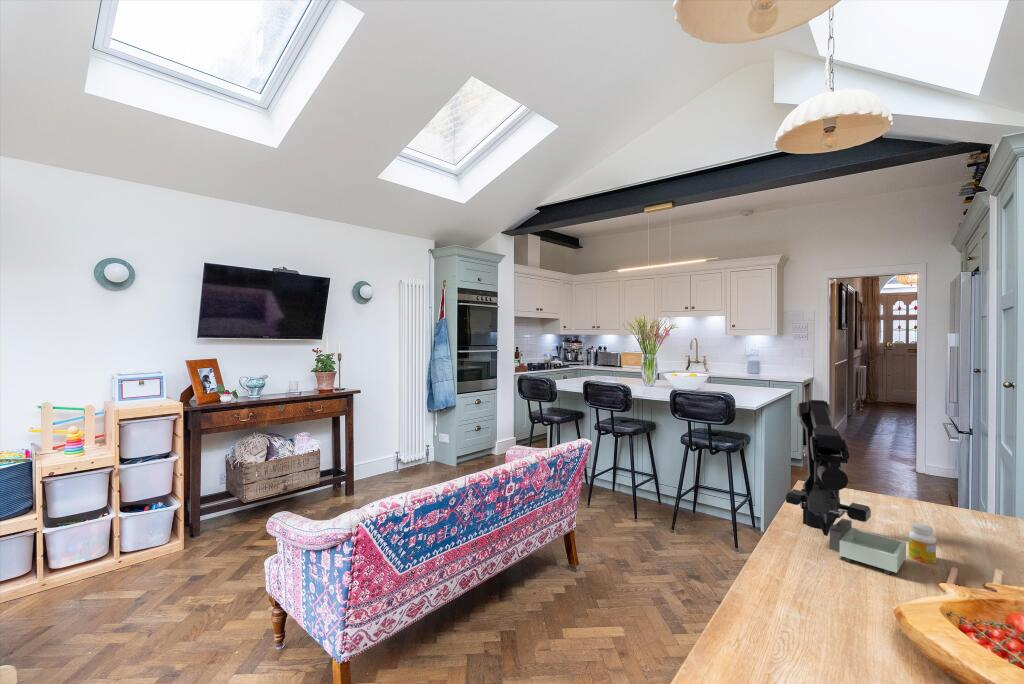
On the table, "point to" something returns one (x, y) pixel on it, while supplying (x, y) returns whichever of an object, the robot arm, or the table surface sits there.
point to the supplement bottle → (922, 544)
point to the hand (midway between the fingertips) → (826, 535)
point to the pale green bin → (867, 547)
